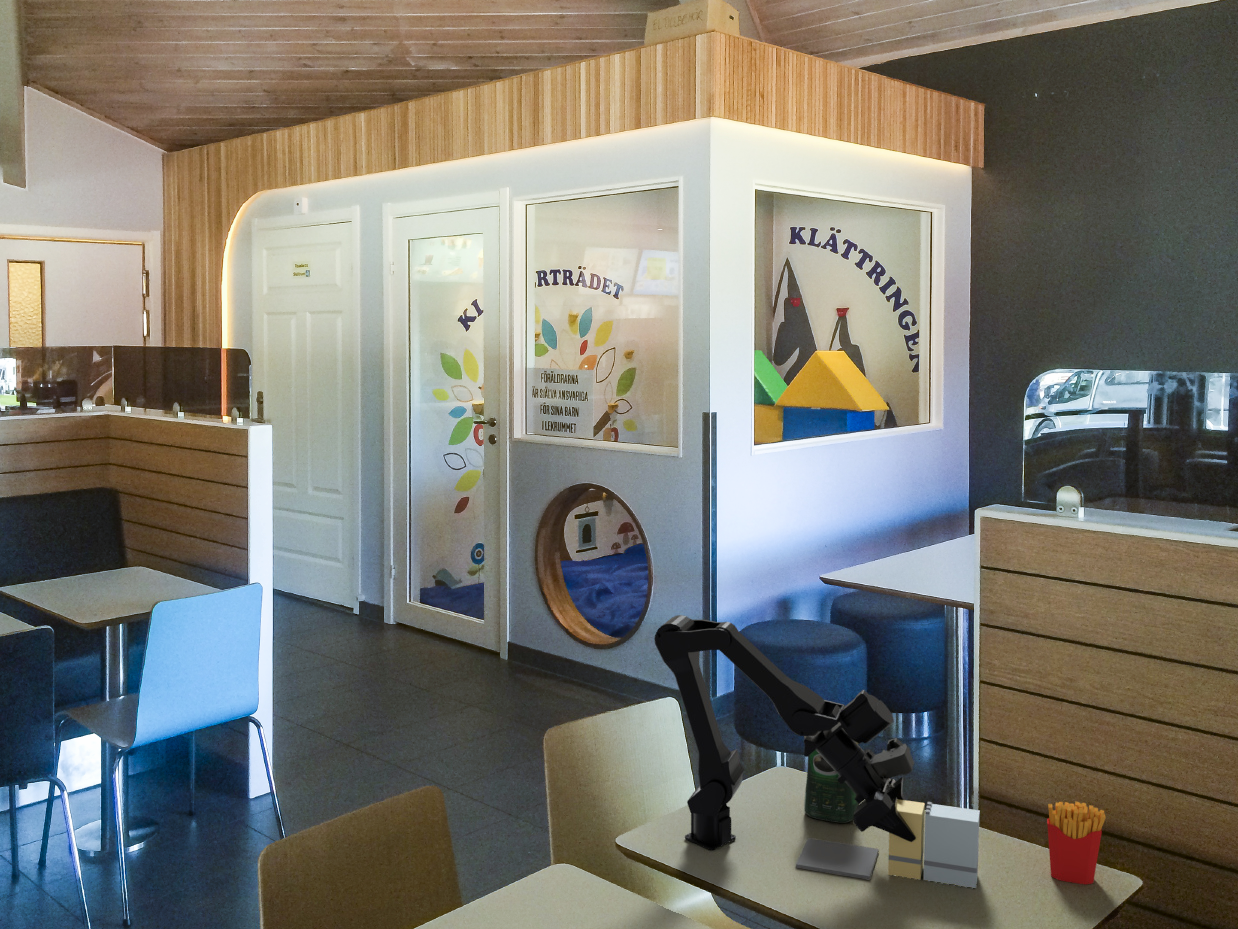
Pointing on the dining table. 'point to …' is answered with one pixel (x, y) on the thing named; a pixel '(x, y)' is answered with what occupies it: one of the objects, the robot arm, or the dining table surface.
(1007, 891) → the dining table surface
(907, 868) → the block
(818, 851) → the mat
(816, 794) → the coffee jar
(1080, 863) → the french fries
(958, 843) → the knobbed pale slab
